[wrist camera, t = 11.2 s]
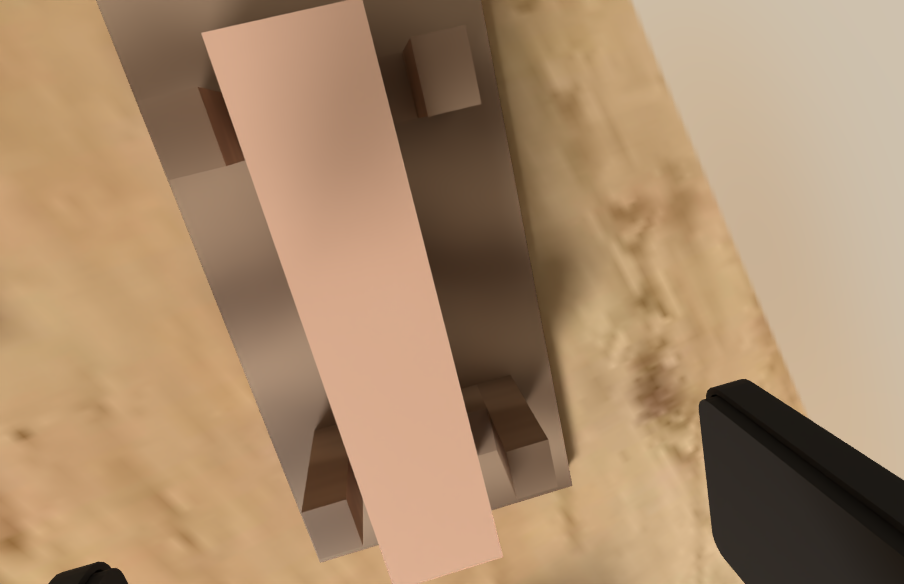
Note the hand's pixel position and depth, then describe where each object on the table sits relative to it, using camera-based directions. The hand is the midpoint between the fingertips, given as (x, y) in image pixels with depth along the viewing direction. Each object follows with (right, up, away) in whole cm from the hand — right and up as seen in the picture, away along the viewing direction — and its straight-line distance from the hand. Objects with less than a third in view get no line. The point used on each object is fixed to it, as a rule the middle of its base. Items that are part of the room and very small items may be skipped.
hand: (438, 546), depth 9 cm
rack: (-3, +5, +13) cm, 14 cm away
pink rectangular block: (-2, +4, +10) cm, 11 cm away
